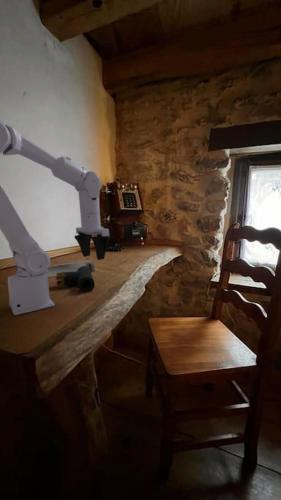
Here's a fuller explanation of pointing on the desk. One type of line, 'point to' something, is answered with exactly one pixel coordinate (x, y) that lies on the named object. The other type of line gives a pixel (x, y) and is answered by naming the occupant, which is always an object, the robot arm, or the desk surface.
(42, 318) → the desk surface
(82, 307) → the desk surface
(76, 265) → the guide dock
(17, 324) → the desk surface
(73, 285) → the pipe connector
